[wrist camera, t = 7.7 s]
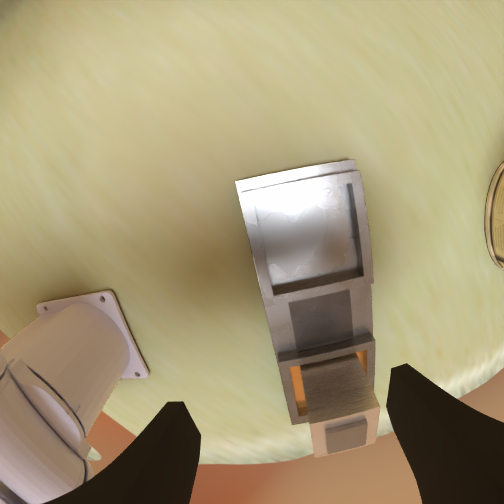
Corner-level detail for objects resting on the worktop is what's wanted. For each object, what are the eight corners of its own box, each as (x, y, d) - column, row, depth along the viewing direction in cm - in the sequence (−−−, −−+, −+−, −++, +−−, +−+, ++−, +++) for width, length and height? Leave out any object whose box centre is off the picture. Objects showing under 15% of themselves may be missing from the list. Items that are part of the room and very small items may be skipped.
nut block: (305, 397, 20) (315, 462, 13) (298, 360, 19) (310, 429, 12) (354, 386, 19) (376, 447, 13) (353, 347, 18) (382, 411, 12)
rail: (291, 417, 22) (292, 433, 20) (236, 181, 16) (233, 182, 15) (367, 399, 21) (373, 414, 19) (349, 159, 16) (360, 158, 14)
